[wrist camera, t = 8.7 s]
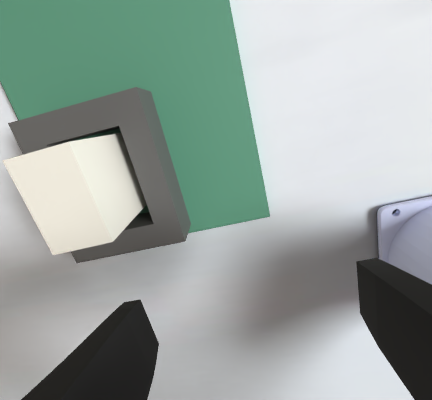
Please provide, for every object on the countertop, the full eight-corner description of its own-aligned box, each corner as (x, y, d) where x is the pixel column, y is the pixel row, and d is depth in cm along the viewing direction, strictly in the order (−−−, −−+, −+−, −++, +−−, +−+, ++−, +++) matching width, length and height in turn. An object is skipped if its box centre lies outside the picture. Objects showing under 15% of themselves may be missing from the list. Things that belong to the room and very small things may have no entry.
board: (213, -79, 12) (209, -136, 9) (269, 213, 17) (277, 233, 14) (-28, 7, 14) (-93, -20, 11) (86, 251, 19) (61, 275, 16)
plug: (127, 131, 15) (68, 141, 10) (151, 198, 17) (112, 241, 11) (83, 143, 16) (2, 160, 10) (111, 208, 17) (53, 255, 11)
